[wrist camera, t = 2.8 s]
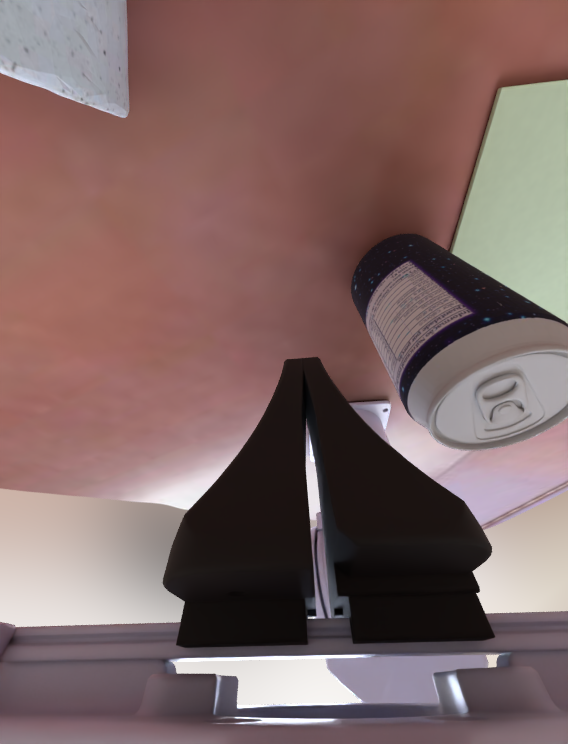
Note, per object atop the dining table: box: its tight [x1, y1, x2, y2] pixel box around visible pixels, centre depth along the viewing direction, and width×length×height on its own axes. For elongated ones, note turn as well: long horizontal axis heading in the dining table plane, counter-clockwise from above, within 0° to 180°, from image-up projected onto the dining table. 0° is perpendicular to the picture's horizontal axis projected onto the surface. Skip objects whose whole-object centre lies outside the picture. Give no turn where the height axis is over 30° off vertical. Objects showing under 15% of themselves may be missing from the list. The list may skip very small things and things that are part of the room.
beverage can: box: [351, 234, 568, 451], centre depth 13 cm, size 6×6×12 cm
